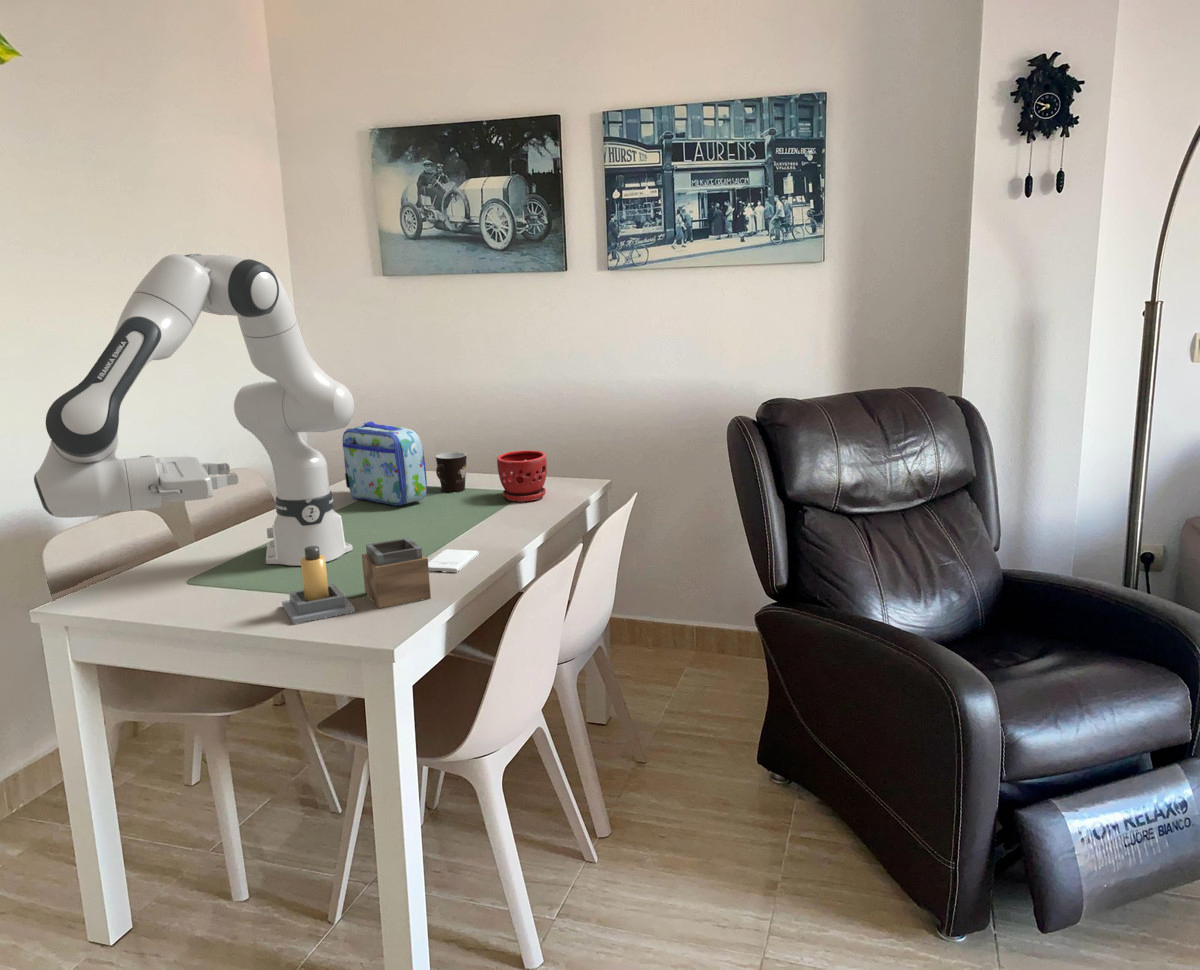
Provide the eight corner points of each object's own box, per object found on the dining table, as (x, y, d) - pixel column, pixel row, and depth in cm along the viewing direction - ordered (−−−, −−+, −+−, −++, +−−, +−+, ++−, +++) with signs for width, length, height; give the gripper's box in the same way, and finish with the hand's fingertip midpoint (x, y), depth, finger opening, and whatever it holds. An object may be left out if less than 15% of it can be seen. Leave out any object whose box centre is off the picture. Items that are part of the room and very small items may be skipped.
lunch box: (341, 497, 267) (334, 423, 262) (373, 490, 275) (367, 417, 270) (399, 511, 250) (392, 432, 245) (432, 503, 258) (426, 425, 253)
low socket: (282, 606, 183) (280, 591, 183) (340, 595, 188) (338, 580, 188) (294, 624, 174) (292, 608, 173) (354, 612, 179) (353, 597, 178)
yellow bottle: (303, 603, 182) (297, 547, 179) (326, 598, 184) (321, 543, 181) (308, 610, 178) (302, 553, 176) (332, 605, 180) (326, 549, 178)
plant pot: (502, 493, 267) (500, 450, 264) (550, 492, 266) (548, 449, 263) (496, 505, 254) (493, 460, 251) (545, 504, 253) (543, 459, 251)
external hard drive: (479, 557, 212) (457, 575, 200) (444, 556, 214) (421, 573, 202) (478, 550, 211) (457, 568, 200) (443, 549, 213) (420, 566, 202)
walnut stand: (365, 593, 189) (360, 544, 187) (414, 583, 194) (410, 536, 191) (379, 608, 181) (374, 557, 178) (430, 598, 185) (426, 548, 183)
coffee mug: (457, 485, 278) (455, 450, 275) (474, 489, 271) (472, 454, 269) (422, 492, 270) (420, 457, 268) (440, 497, 264) (437, 461, 262)
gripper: (149, 476, 153) (240, 466, 160) (140, 454, 171) (222, 445, 177) (154, 514, 155) (244, 503, 161) (144, 488, 172) (226, 479, 179)
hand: (233, 473), depth 169 cm, fingers open, 8 cm apart
